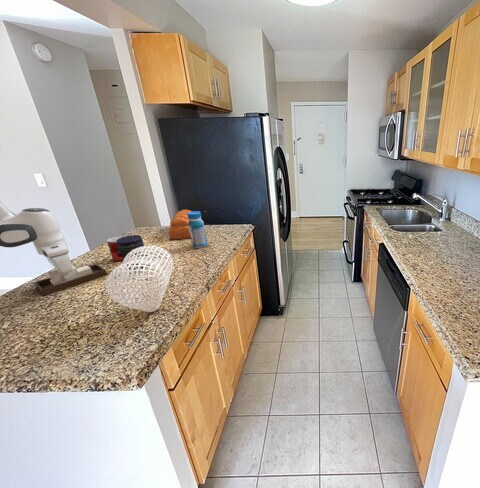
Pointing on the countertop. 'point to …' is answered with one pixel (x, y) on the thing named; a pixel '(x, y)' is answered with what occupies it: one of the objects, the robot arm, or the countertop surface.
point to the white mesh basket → (140, 261)
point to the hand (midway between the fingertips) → (64, 276)
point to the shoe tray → (48, 287)
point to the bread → (180, 225)
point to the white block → (75, 273)
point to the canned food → (115, 248)
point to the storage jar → (130, 247)
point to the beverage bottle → (197, 229)
